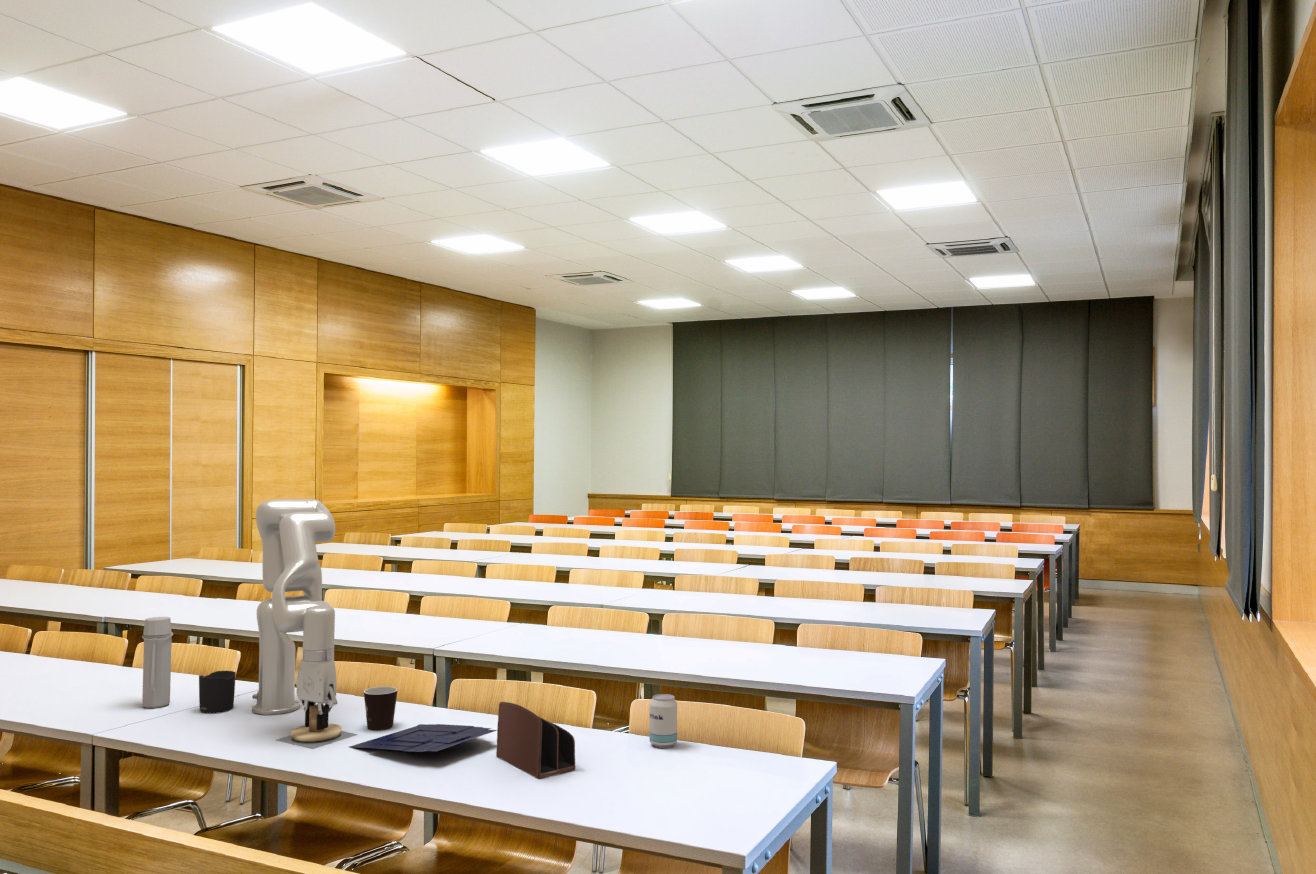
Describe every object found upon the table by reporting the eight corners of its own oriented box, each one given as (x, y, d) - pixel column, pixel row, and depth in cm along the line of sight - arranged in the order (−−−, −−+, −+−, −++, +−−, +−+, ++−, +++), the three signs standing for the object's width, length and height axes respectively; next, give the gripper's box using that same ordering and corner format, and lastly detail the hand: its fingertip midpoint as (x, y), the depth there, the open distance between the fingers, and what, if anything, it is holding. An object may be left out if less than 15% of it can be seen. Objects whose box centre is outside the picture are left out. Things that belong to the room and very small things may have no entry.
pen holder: (198, 707, 259) (199, 672, 259) (235, 704, 263) (235, 669, 263) (197, 715, 251) (198, 679, 251) (234, 712, 255) (235, 676, 255)
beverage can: (643, 745, 226) (644, 696, 227) (663, 739, 231) (663, 691, 232) (663, 751, 221) (663, 701, 222) (682, 745, 226) (682, 696, 227)
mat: (275, 741, 227) (275, 739, 227) (320, 727, 239) (320, 726, 239) (312, 750, 220) (312, 748, 220) (357, 736, 232) (357, 734, 232)
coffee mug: (391, 733, 235) (391, 694, 235) (358, 733, 235) (358, 694, 235) (404, 721, 246) (405, 684, 247) (373, 720, 247) (373, 683, 247)
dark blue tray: (431, 765, 206) (430, 749, 206) (345, 758, 222) (344, 743, 223) (504, 739, 226) (503, 724, 227) (421, 734, 243) (420, 720, 243)
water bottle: (143, 703, 263) (146, 617, 264) (173, 701, 265) (176, 615, 266) (135, 711, 254) (138, 622, 255) (167, 709, 257) (169, 621, 257)
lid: (280, 736, 228) (281, 708, 228) (319, 724, 239) (320, 697, 239) (313, 744, 222) (313, 715, 222) (351, 731, 233) (352, 704, 233)
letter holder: (538, 780, 201) (538, 715, 201) (495, 757, 217) (496, 697, 217) (576, 770, 207) (576, 708, 208) (532, 749, 223) (532, 691, 223)
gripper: (284, 653, 232) (282, 725, 231) (328, 662, 223) (326, 736, 223) (308, 648, 238) (307, 718, 238) (352, 656, 230) (350, 729, 229)
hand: (316, 726), depth 230 cm, fingers closed on lid, 3 cm apart
